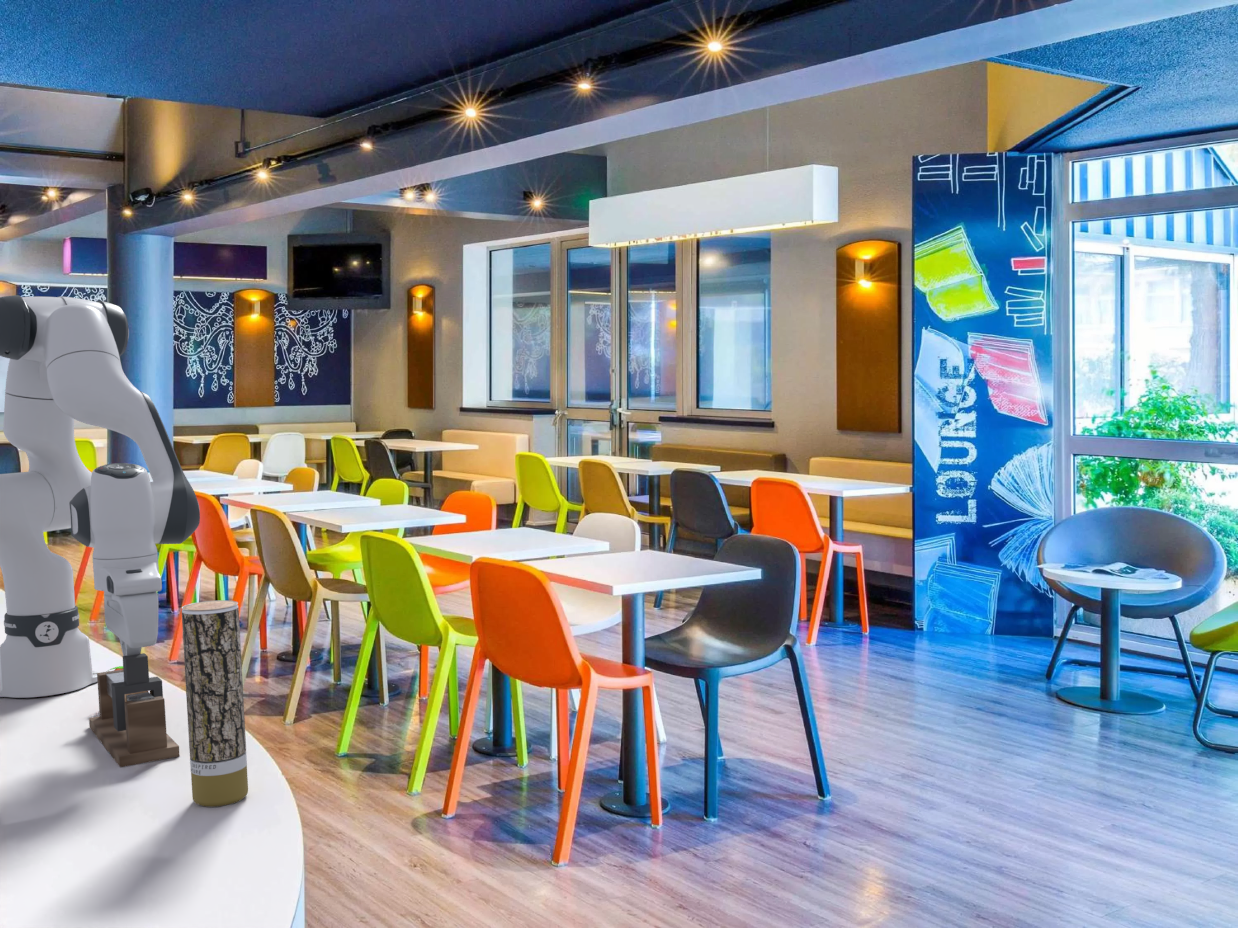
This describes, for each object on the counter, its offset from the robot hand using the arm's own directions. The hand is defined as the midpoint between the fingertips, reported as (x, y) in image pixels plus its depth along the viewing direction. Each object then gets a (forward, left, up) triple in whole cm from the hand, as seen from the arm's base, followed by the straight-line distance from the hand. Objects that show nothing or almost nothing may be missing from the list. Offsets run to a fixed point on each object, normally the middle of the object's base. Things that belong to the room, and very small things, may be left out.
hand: (132, 667), depth 177 cm
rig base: (-3, 0, -12) cm, 12 cm away
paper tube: (+32, +4, -12) cm, 34 cm away
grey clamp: (+3, 0, -8) cm, 8 cm away
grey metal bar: (-3, 0, -6) cm, 7 cm away
